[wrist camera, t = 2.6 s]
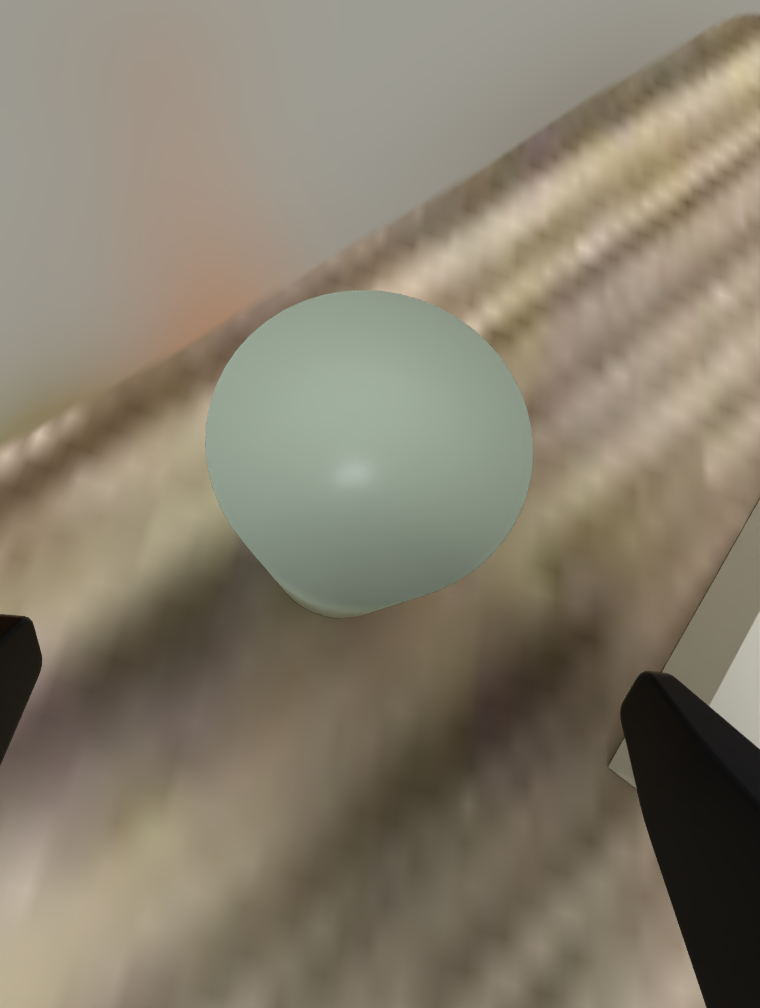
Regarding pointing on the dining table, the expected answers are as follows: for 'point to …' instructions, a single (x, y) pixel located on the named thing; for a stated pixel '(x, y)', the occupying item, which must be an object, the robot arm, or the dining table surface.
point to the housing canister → (368, 450)
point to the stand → (722, 644)
